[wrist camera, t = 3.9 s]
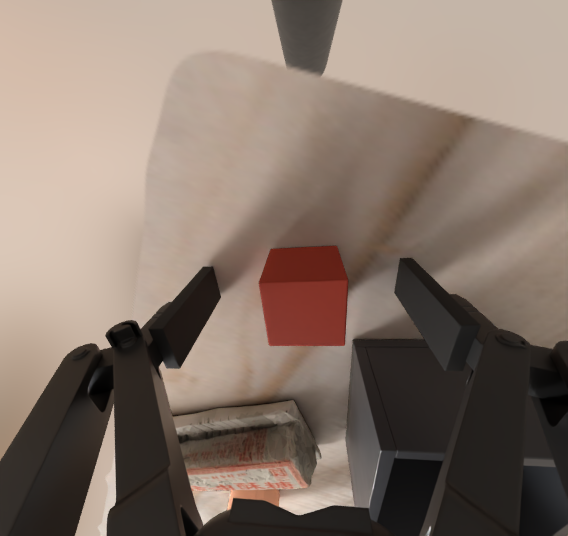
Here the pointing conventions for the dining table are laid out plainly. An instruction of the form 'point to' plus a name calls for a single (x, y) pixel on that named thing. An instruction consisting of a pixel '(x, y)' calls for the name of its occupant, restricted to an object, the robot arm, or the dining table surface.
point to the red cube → (304, 297)
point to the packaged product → (247, 448)
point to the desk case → (427, 439)
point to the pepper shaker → (256, 495)
